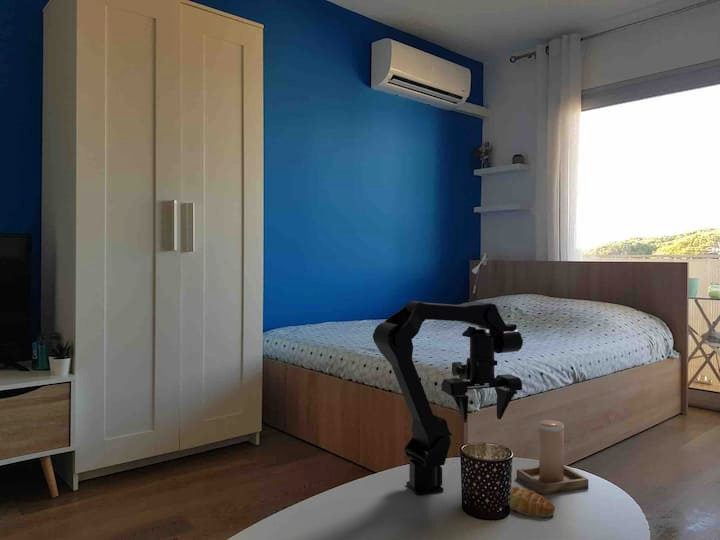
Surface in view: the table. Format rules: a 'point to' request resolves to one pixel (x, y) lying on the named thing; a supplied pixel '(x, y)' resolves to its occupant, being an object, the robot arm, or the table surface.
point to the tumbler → (551, 451)
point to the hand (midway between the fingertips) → (481, 420)
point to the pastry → (530, 503)
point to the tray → (570, 482)
